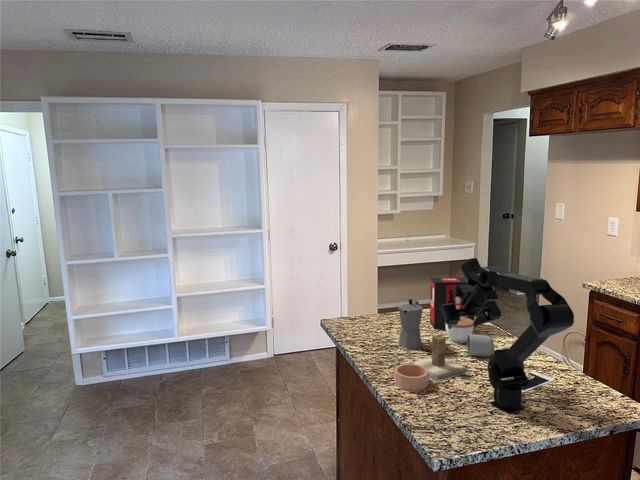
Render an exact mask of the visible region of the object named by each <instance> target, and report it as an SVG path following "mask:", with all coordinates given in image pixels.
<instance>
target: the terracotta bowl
mask: <svg viewBox="0 0 640 480" xmlns="http://www.w3.org/2000/svg"><path fill="white" fill-rule="evenodd" d="M393 372H394V374H393V375H394V376H393V377H394V379H393V380H394V384H395V386H396V387H398V388H399V389H401V390H405V391H411V392H413V391H422V390H425V389H426V388H427V387H428V386H429V377H428V376H429V372H428V370H427V368H425V367H423V366H421V365H416V364H410V363H402V364H399V365H397V366H396V367H394V371H393Z"/></svg>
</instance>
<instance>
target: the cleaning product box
mask: <svg viewBox="0 0 640 480" xmlns="http://www.w3.org/2000/svg"><path fill="white" fill-rule="evenodd" d="M466 284H468V283H467V281H466V279H465V278H464V276H463V277H430V287H429V288H430V289H429V290H430V291H429V292H430V294H429V295H430V297H429V323H430V325H431V327H432V328H433V330H446V327H445V320H444V318H443V316H442V314H441V311H440V307H441V306H442V304H451V303H452V304H454V305H455V307H456V309H463V305H461V304H460V300H461V299H460V298H459V297H455V296H454V295H453V294H452V288H453V287H454V286H458V285H466ZM471 286H472V287H474V286H473V285H471ZM465 318H469V319H471V320H473V321H475V317H468V316H466V317H465ZM473 330H475V327H473Z"/></svg>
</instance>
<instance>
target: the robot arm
mask: <svg viewBox="0 0 640 480" xmlns="http://www.w3.org/2000/svg"><path fill="white" fill-rule="evenodd" d="M459 269H460V270H459V271H460V272H461V274H462V276H463V277H464V278H465V279H466V281H467V283H468V284H466V285H458V286H454V287H453V288H452V294H453V295H454V296H455V297H459V298H460V299H461V300H460V304H461V305H463V309H456V307H455V305H454V304H452V303H451V304H442V306H441V307H440V311H441V314H442V316H443V318H444V320H445V322H446V323H447V324H448V328H449V329H451V328H453V327H454V326H456V325H457V324H458V322H459V320H460V317H466V316H468V317H474V324H473V325H474V328H475V327H478V326H481V325H484V324H486V323H490V322H492V321H493V322H494V321H495V320H499V319H500V318H501V317H502V315H503V314H502V310H501V308H500V307H499V304H498V303H497V302H496V300H499V295H498V294H497V290H496V289H495V287H496V288H498V287H500V288H504V289H508V290H511V291H514V292H519V293H522V294H524V295H525V297H526V310H527V312H528V313H529V323H530V324H529V326H527V328H526V329H525V330H524V331H523V332H522V334H521V335H519V336H518V338H517V339H516V340H515V341H514V342H513V343H512V344H511V346H509V347H508V348H500V349H495V350H493V354H492V356H489V359H488V362H487V372H488V379H489V384H491V387H492V388H493V401H490V405H491V406H493V407H495V408H497V409H499V410H501V411H503V412H505V413H507V414H509V415H512V414H513V413H516V412H519V411H521V410H524V409H525V408H526V407H525V405H524V404H522V398H523V397H522V394H523V393H522V388H521V387H527V386H528V383H529V380H530V379H529V378H528V376H527V373H526V372H525V370H524V369H525V364H524V362H525V361H526V360H527V359H528V358H530V357H531V356H532V354H533V353H535V351H536V350H538V348H539V347H540V346H541V345H542V344H543V343H544V342H546V341H547V339H549V337H551V336H554V335H556V334H559V333H562V332H564V331H566V330H568V329H569V328H571V327H572V326H573V325H574V323H575V314H574V312H573V309H572V308H571V306H570V305H569V304H568V302H567V300H566V299H565V296H562V295H561V294H560V293H558V292H557V291H556V290H554V288H553V287H552V286H551V285H550V283H549V282H548V280H547V279H544V278H535V277H532V276H528V275H527V276H526V275H522V274H517V273H513V272H510V271H509V269H508V268H506V267H504V266H501V265H495V266H481V264H480V262H479V260H478V258H476V257H473V258H471V257H470V258H469V260H468V261H465V262H464V263H462V264H461V265H460V267H459ZM471 285H473V286H474V287H472V286H471ZM537 296H542V297H543V298H544V299H545V300H546V301H547V302H548V303H550V304H542V305H540V304H538V301H537Z"/></svg>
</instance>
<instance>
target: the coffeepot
mask: <svg viewBox="0 0 640 480" xmlns="http://www.w3.org/2000/svg"><path fill="white" fill-rule="evenodd" d="M398 312H399V319H400V325H401V328H400V332H399V338H398V346H399V347H400V348H406V349H418V348H421V347H423V344H422V343H423V342H422V336H421V331H420V325H421V324H422V323H421V322H422V315H423V306H422V305H420V303H419V301H417V300H415V301H413V299H411V298H410V299H408V303H402V304H400V305H398Z"/></svg>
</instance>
